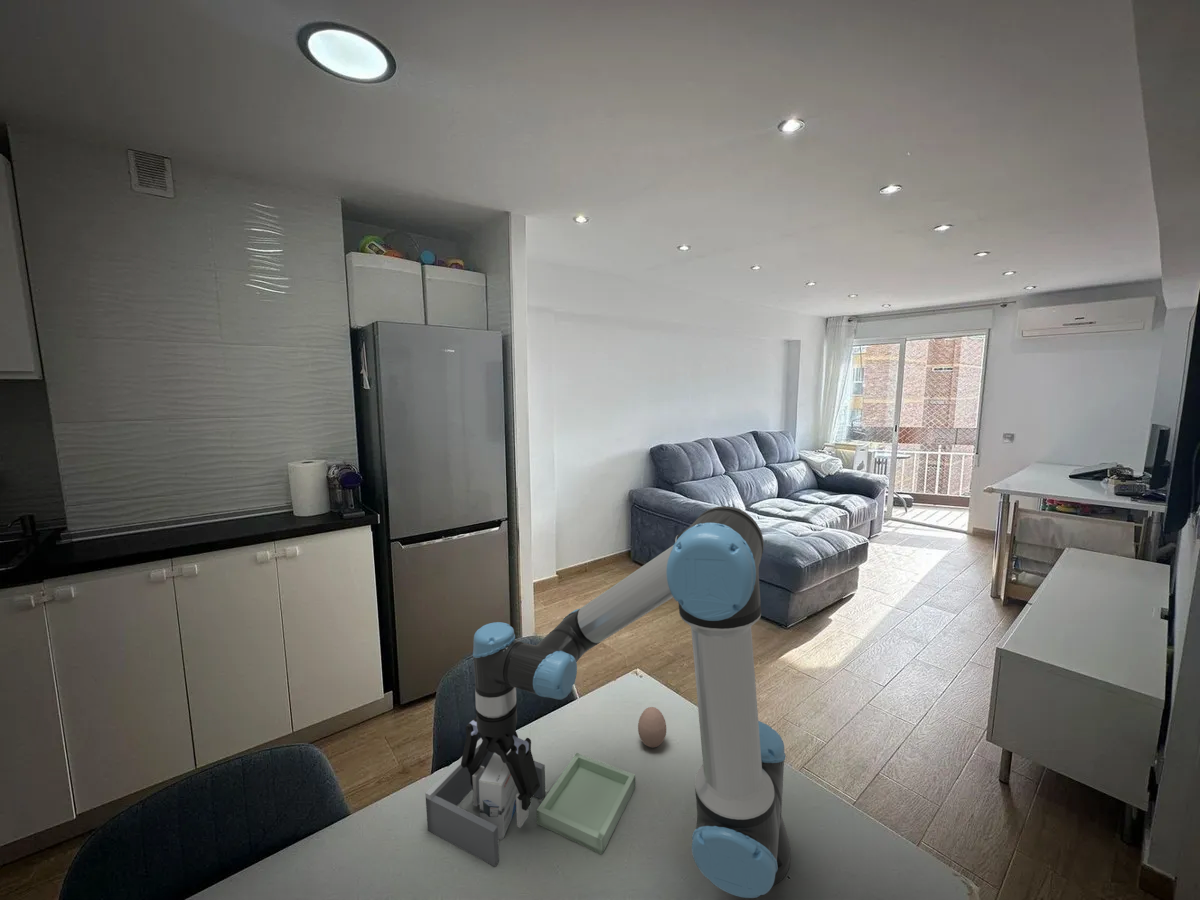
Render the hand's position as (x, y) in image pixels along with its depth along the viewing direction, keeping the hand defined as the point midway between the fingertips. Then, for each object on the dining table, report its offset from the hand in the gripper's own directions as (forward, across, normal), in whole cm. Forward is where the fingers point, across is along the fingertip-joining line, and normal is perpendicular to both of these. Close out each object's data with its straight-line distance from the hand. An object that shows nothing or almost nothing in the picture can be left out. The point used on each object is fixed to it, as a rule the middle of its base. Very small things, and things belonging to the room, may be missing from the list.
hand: (500, 810), depth 93 cm
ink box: (+2, 0, 0) cm, 2 cm away
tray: (+2, -14, -10) cm, 17 cm away
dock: (+2, +3, 0) cm, 3 cm away
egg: (+2, -20, -31) cm, 37 cm away
